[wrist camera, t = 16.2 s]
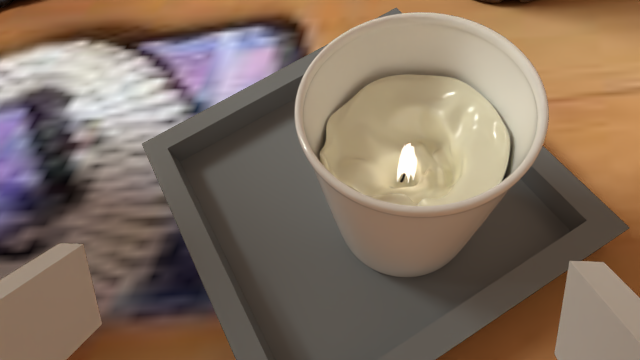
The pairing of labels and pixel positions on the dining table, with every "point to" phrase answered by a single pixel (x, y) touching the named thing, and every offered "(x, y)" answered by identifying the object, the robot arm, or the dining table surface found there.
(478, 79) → the candle holder
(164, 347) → the dining table surface
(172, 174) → the tray
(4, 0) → the dark grey crumpled cloth
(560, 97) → the dining table surface
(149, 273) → the dining table surface
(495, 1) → the plant pot
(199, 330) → the dining table surface
